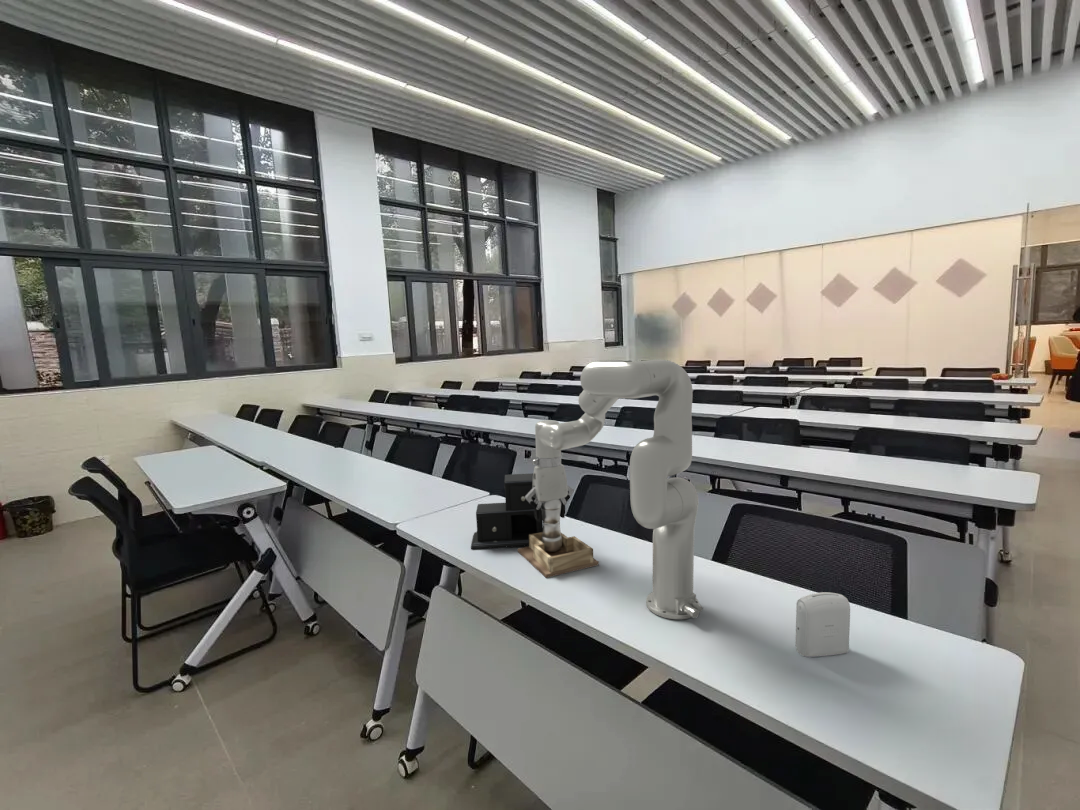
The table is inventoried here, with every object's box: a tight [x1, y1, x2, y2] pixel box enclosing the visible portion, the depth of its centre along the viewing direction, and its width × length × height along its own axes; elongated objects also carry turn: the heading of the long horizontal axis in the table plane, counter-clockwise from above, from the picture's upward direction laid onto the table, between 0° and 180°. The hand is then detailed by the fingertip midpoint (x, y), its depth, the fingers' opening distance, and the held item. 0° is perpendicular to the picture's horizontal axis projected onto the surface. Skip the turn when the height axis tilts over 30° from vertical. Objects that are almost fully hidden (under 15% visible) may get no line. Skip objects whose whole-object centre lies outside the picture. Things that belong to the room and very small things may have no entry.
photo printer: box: [794, 591, 851, 658], centre depth 102 cm, size 10×4×12 cm, turn 96°
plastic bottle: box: [541, 499, 562, 552], centre depth 153 cm, size 6×7×20 cm
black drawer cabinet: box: [470, 472, 543, 550], centre depth 163 cm, size 23×11×24 cm, turn 93°
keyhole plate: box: [517, 532, 600, 579], centre depth 151 cm, size 20×17×5 cm
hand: (550, 518), depth 153 cm, fingers open, 7 cm apart
